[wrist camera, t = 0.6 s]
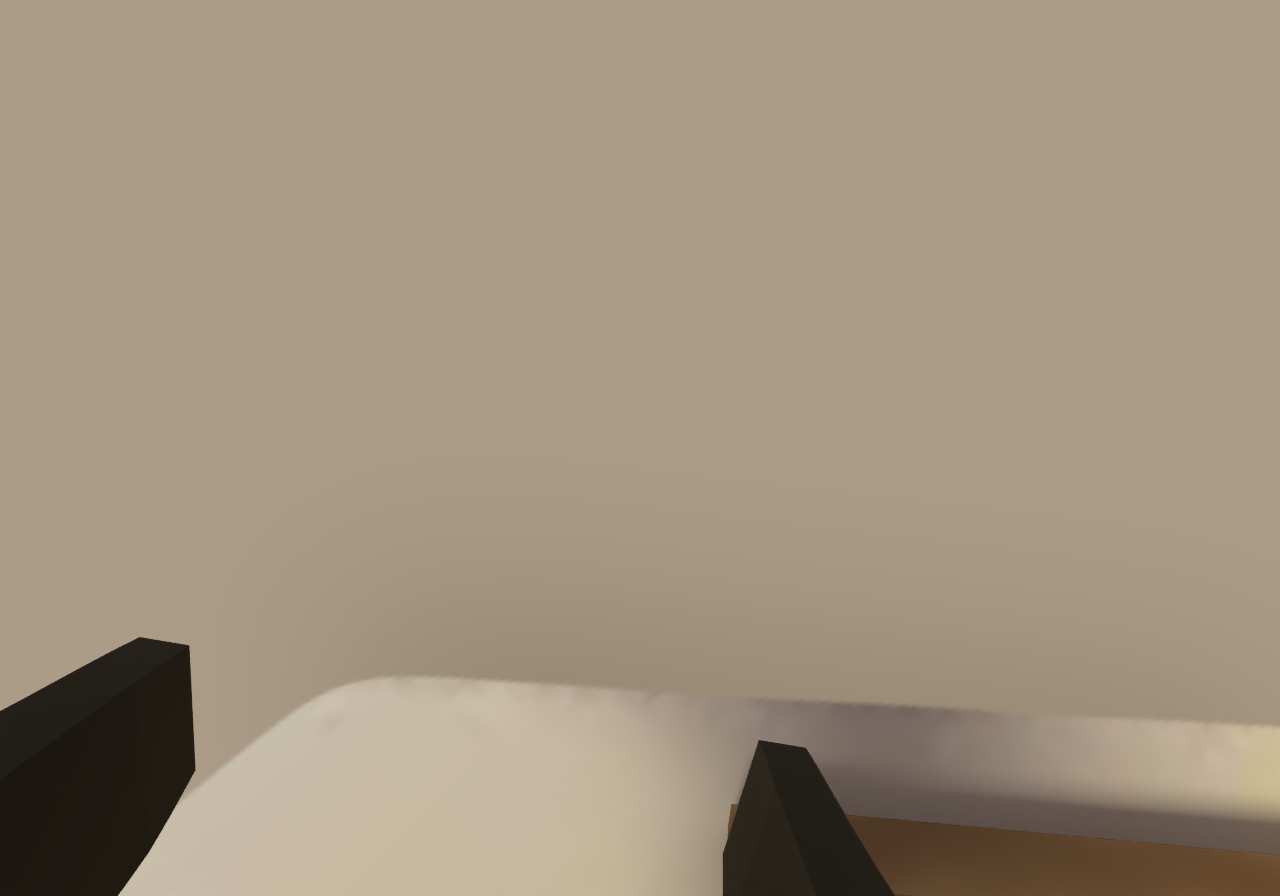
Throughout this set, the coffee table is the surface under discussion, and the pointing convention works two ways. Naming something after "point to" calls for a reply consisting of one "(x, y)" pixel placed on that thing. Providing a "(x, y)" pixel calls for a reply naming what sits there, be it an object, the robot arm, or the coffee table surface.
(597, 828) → the coffee table surface
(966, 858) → the end rail
